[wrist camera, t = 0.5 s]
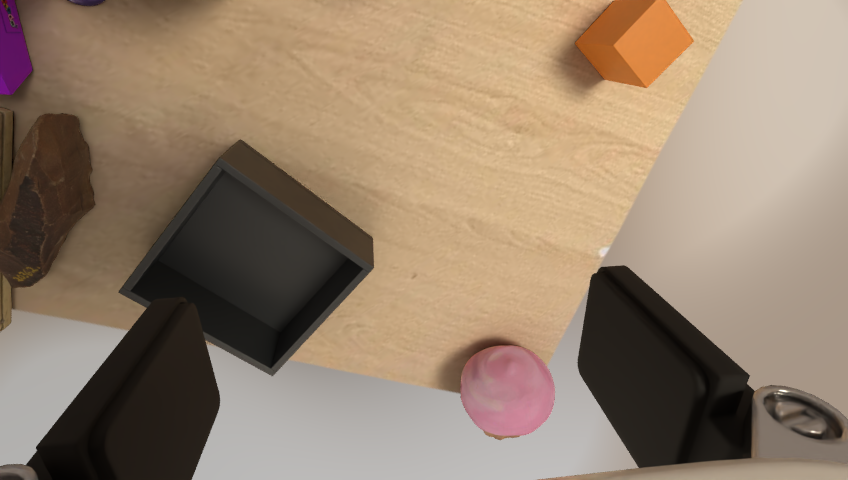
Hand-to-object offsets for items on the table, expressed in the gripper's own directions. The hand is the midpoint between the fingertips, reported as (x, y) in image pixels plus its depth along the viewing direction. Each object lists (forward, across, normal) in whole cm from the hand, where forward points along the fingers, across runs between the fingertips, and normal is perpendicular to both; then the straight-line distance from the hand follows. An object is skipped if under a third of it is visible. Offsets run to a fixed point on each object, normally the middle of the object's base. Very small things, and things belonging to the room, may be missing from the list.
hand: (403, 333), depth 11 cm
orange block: (+27, -18, -6) cm, 33 cm away
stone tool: (+24, +20, -2) cm, 31 cm away
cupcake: (+25, -11, +31) cm, 41 cm away
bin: (+27, +10, +10) cm, 31 cm away
